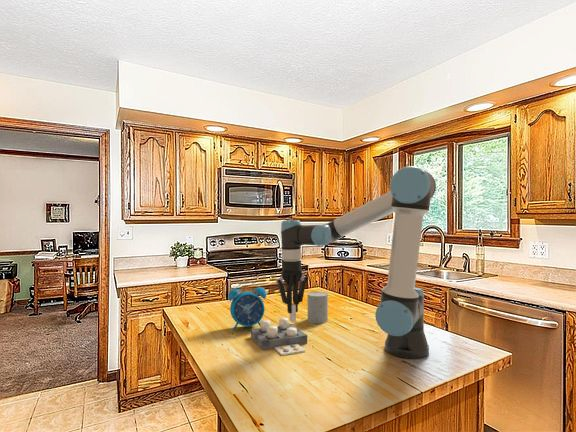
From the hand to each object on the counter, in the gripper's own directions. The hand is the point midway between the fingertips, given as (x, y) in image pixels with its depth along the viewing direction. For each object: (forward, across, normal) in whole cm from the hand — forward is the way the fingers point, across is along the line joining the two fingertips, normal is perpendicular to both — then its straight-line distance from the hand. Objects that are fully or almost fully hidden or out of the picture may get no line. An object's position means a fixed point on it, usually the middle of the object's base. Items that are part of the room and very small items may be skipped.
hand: (292, 321), depth 136 cm
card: (+8, +4, +7) cm, 12 cm away
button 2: (+5, +8, -1) cm, 10 cm away
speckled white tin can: (+8, -22, -22) cm, 32 cm away
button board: (+8, +4, -5) cm, 10 cm away
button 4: (+7, 0, -1) cm, 7 cm away
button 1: (+5, +8, -9) cm, 13 cm away
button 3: (+5, 0, -9) cm, 10 cm away
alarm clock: (+8, +11, -24) cm, 27 cm away
